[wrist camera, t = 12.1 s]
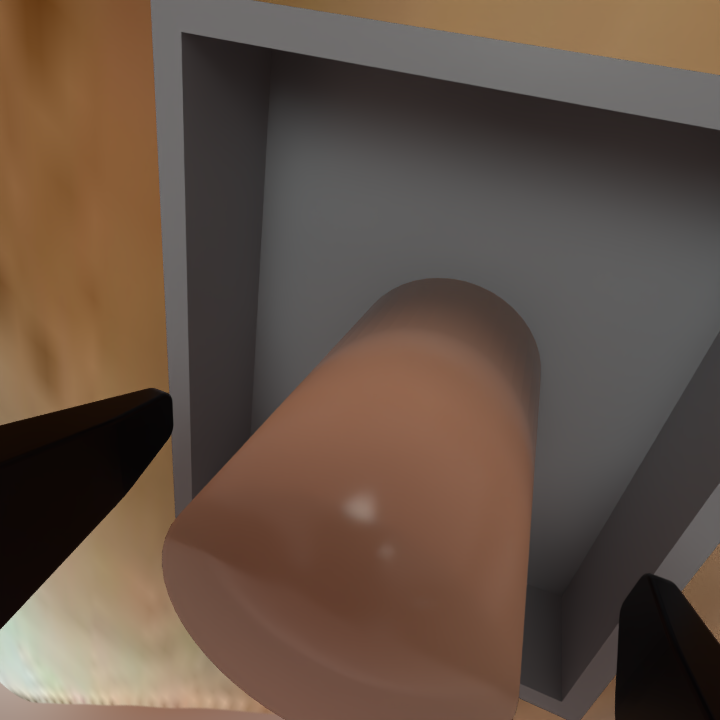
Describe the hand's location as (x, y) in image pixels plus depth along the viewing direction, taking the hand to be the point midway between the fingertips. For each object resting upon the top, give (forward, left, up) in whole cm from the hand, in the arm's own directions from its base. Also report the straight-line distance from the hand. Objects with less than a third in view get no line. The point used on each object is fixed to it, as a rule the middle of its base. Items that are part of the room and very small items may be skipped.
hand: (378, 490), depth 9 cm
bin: (0, 0, -6) cm, 6 cm away
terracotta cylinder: (0, 0, -5) cm, 5 cm away
